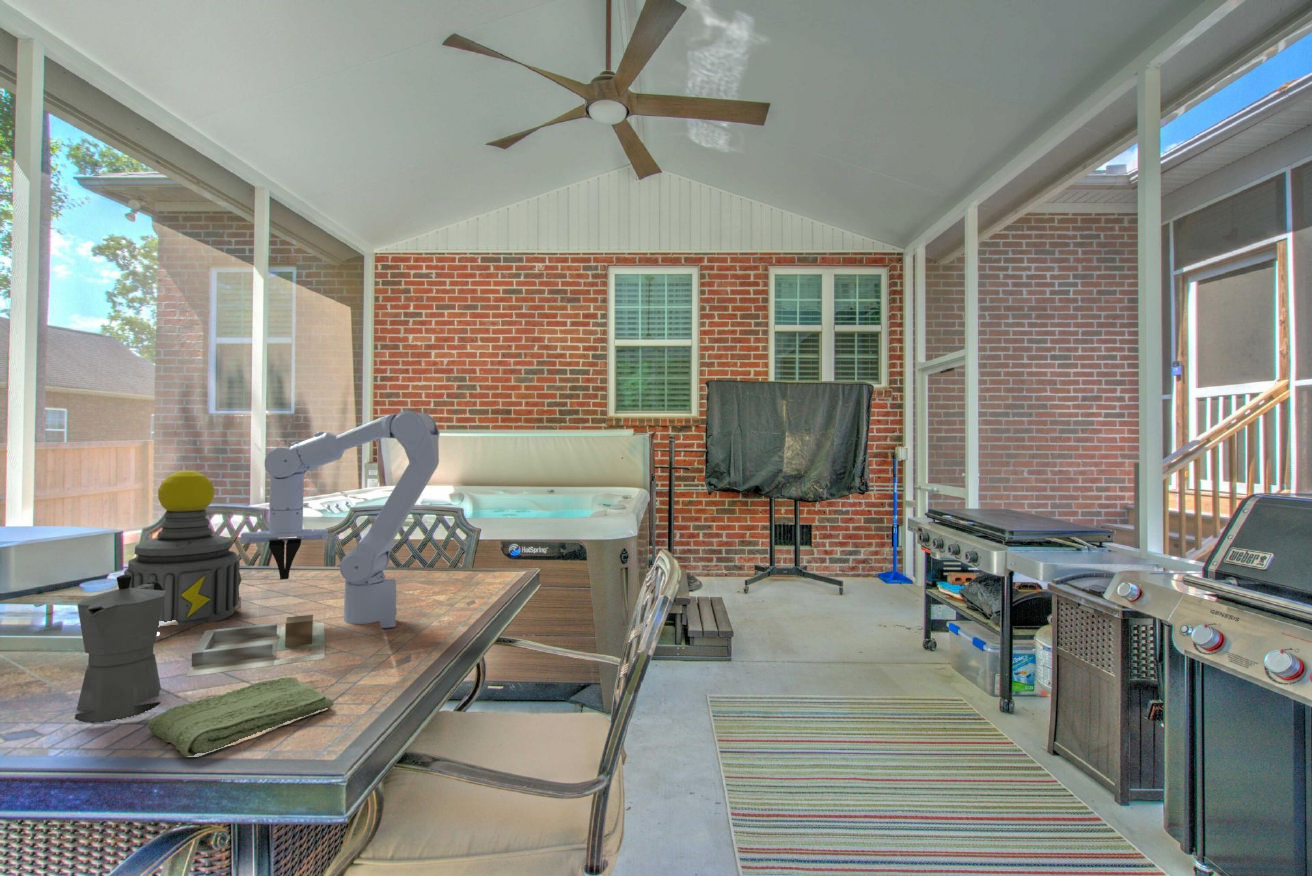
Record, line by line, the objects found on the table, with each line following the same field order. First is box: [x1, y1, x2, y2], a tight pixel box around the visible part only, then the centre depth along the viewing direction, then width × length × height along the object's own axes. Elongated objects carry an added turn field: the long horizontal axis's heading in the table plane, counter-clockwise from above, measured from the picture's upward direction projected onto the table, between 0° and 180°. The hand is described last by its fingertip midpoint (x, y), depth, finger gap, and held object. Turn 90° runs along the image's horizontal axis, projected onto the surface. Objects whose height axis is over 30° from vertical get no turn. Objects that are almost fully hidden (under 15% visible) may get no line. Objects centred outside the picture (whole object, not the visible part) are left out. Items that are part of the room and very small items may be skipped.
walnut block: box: [285, 614, 314, 647], centre depth 107 cm, size 4×4×4 cm
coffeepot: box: [74, 574, 166, 724], centre depth 84 cm, size 15×9×18 cm, turn 13°
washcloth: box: [147, 676, 335, 757], centre depth 80 cm, size 13×18×3 cm
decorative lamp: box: [123, 470, 242, 627], centre depth 124 cm, size 19×19×30 cm
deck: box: [185, 622, 326, 678], centre depth 104 cm, size 18×22×4 cm
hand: (284, 578), depth 120 cm, fingers closed
